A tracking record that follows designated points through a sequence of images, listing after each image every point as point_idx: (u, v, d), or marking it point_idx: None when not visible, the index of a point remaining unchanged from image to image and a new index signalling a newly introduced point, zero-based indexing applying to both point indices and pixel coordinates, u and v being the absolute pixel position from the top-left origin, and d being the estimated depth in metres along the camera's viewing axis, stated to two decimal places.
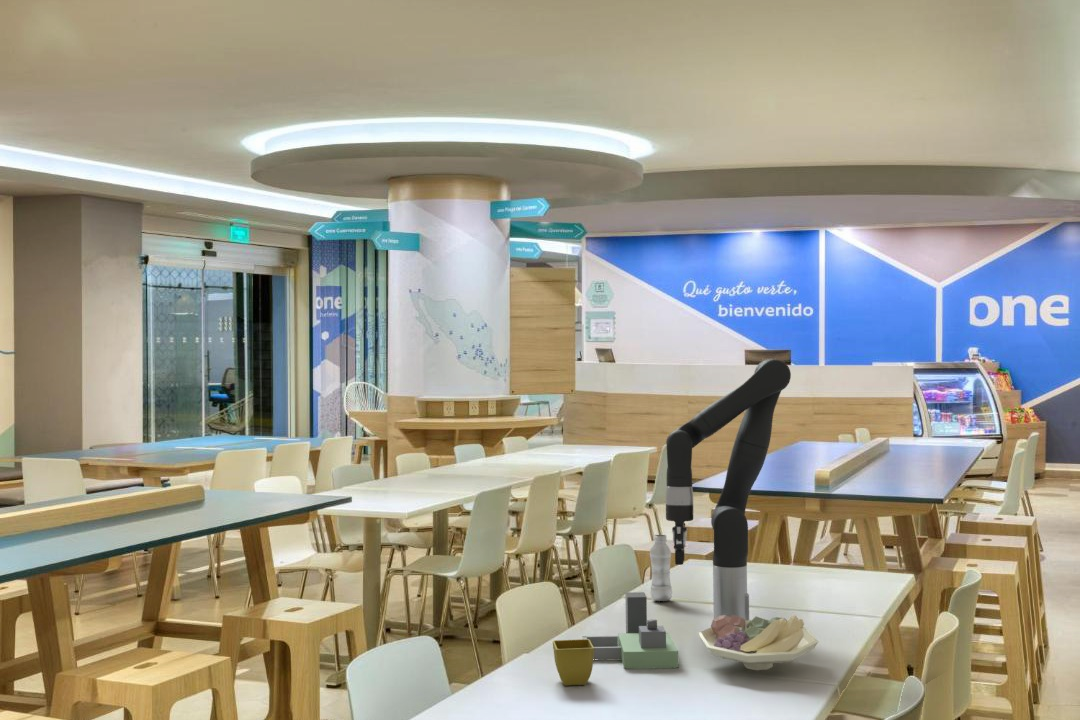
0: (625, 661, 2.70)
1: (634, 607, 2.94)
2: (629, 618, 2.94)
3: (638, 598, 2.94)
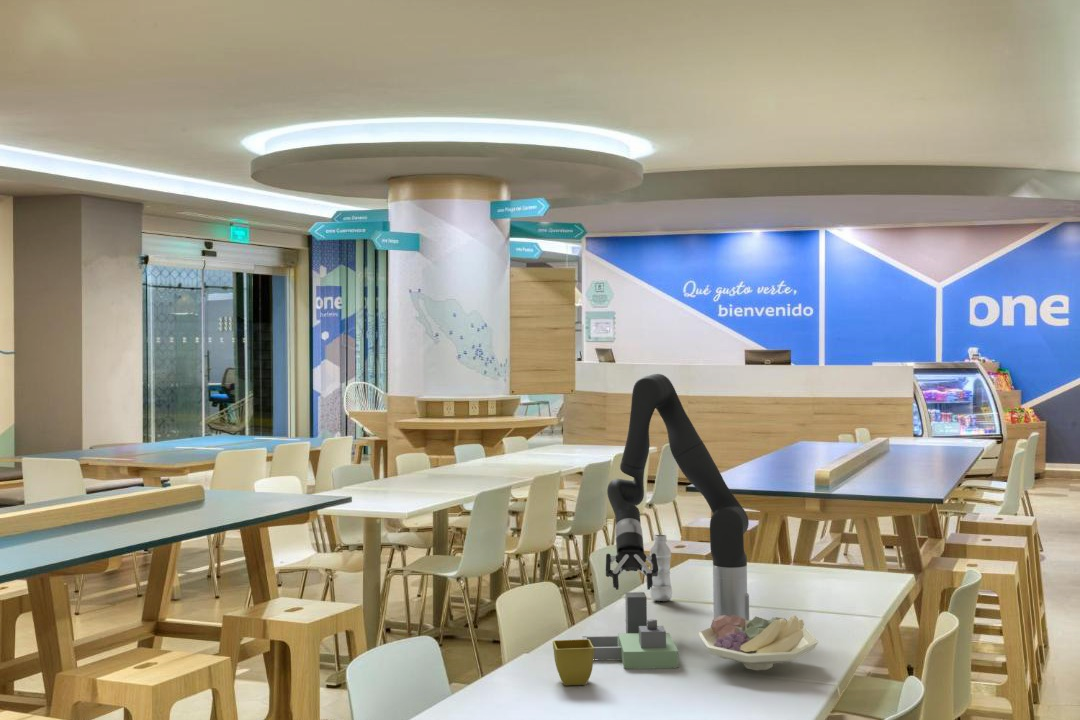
0: (625, 661, 2.70)
1: (634, 607, 2.94)
2: (629, 618, 2.94)
3: (638, 598, 2.94)
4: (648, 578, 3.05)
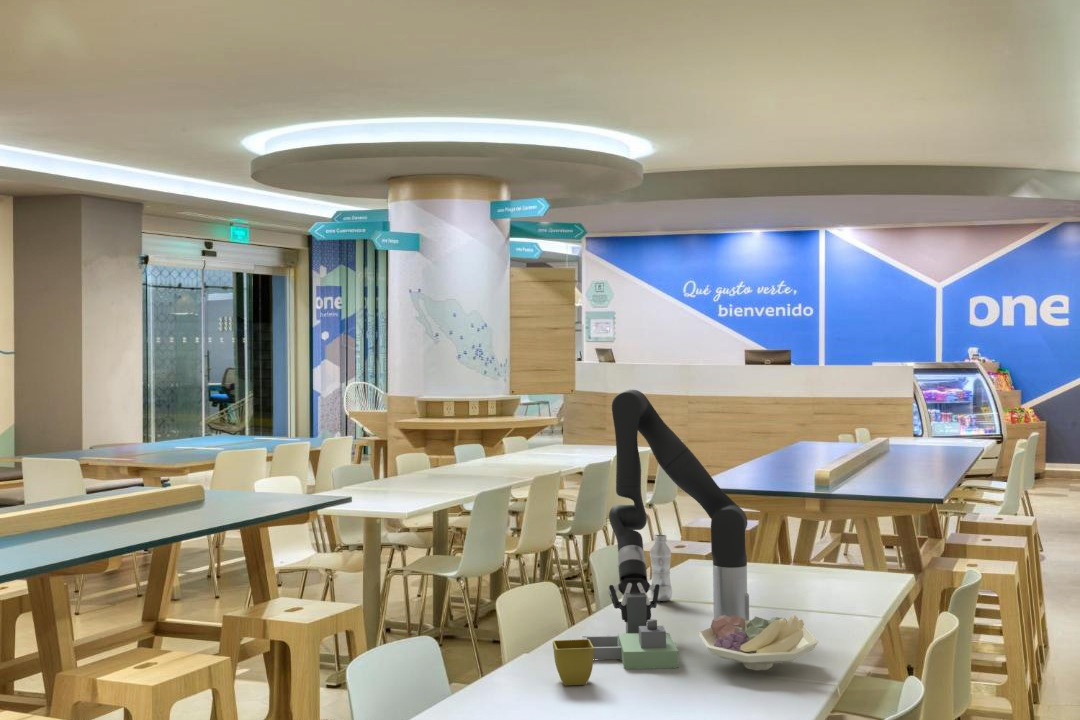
0: (625, 661, 2.70)
1: (634, 607, 2.94)
2: (629, 618, 2.94)
3: (638, 598, 2.94)
4: None
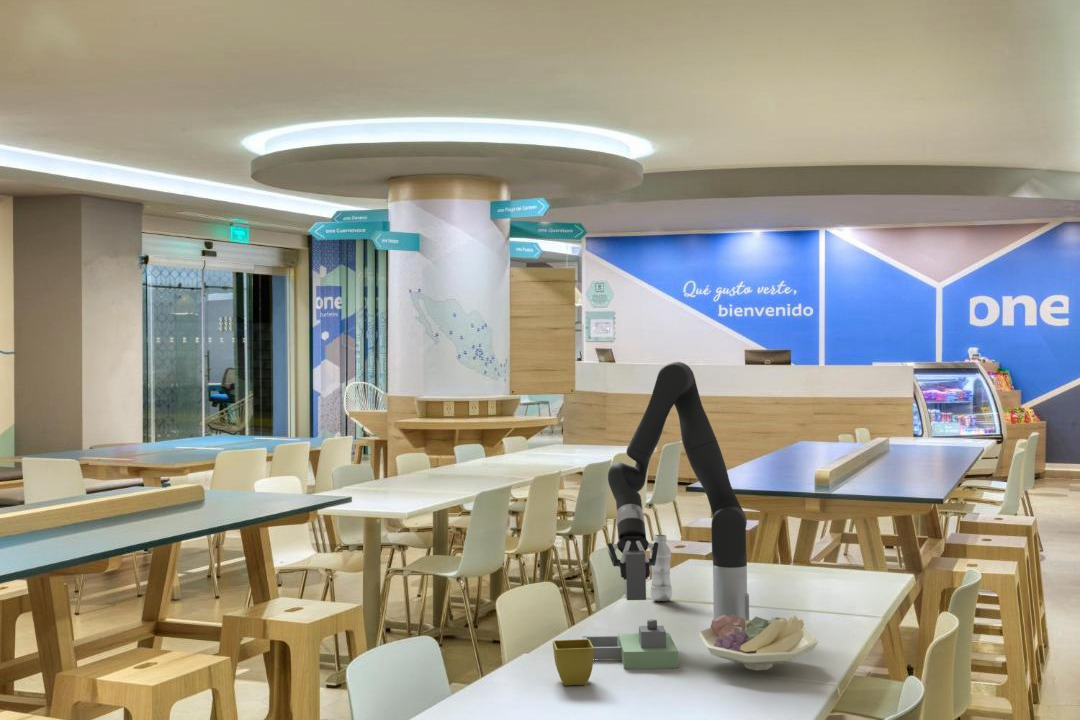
0: (625, 661, 2.70)
1: (633, 564, 2.94)
2: (628, 575, 2.94)
3: (637, 555, 2.94)
4: None
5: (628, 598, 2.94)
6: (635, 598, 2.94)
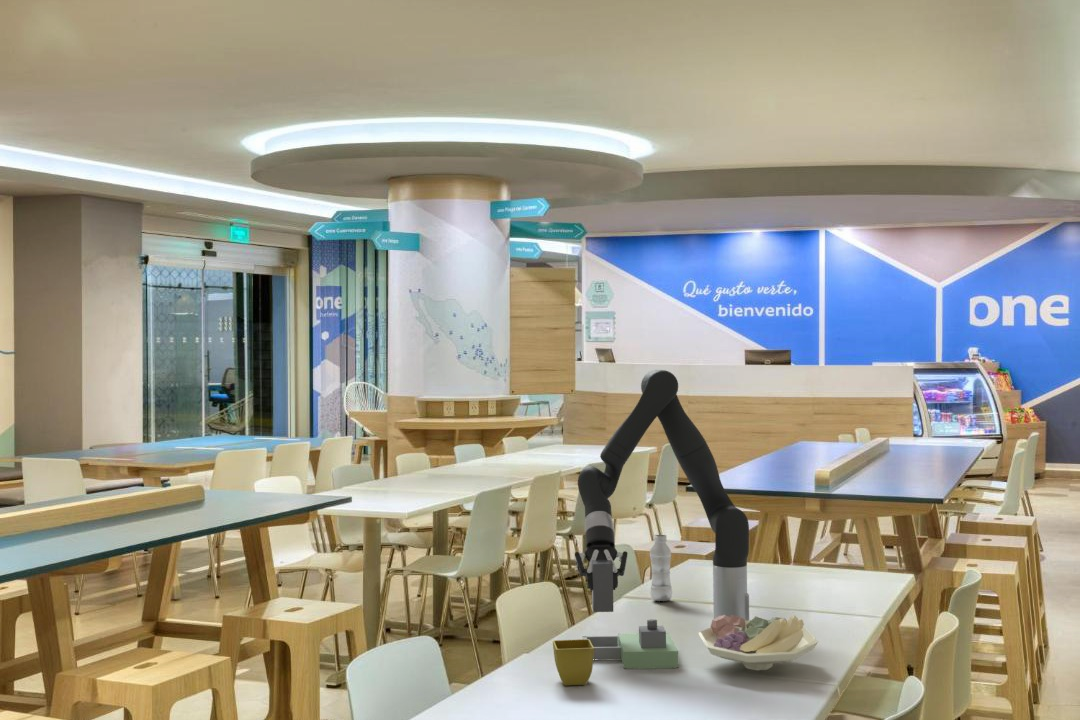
0: (625, 661, 2.70)
1: (600, 574, 2.81)
2: (594, 585, 2.81)
3: (604, 565, 2.81)
4: (613, 578, 2.83)
5: (594, 610, 2.81)
6: (602, 610, 2.81)
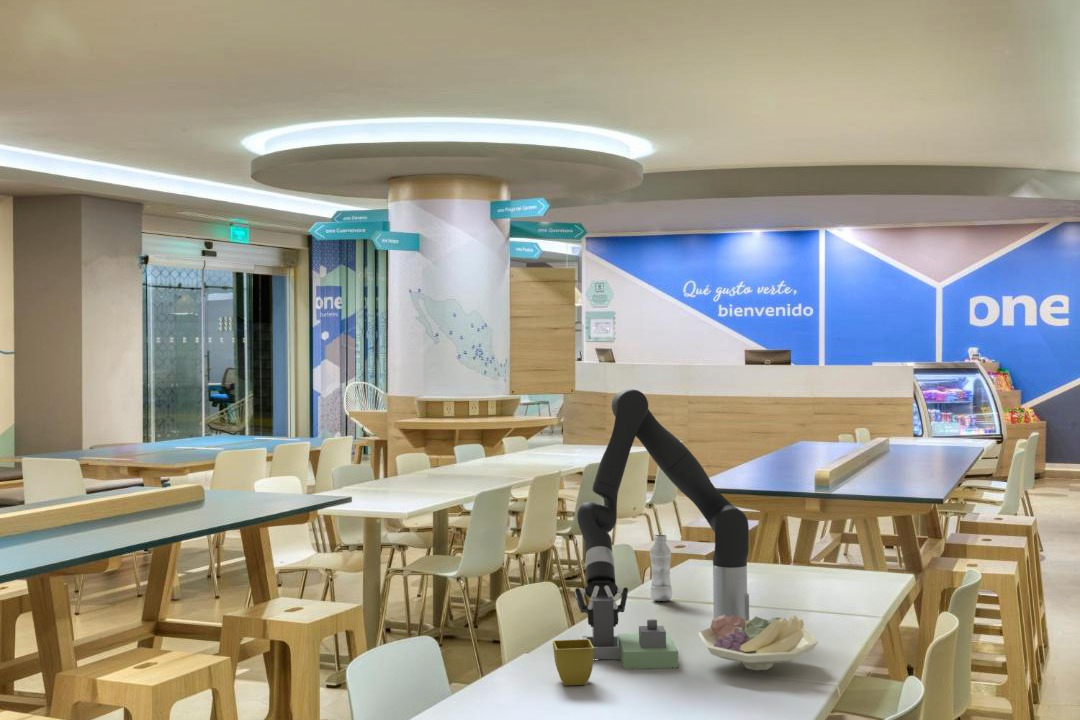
0: (625, 661, 2.70)
1: (601, 611, 2.81)
2: (595, 622, 2.81)
3: (605, 602, 2.81)
4: None
5: None
6: None
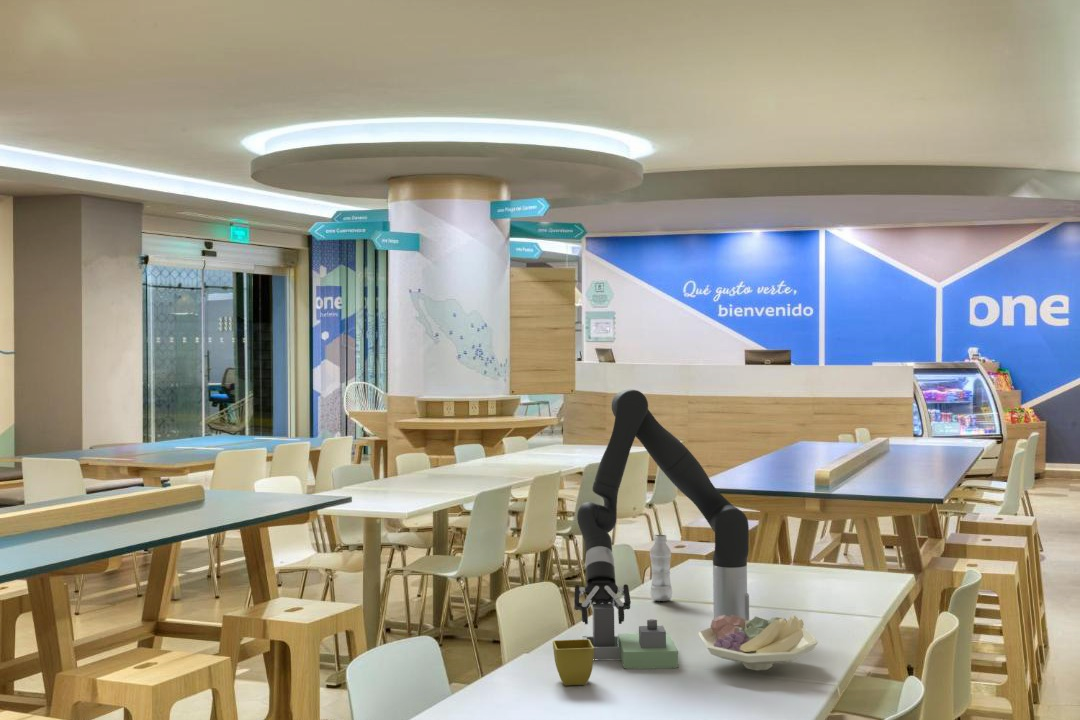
0: (625, 661, 2.70)
1: (601, 619, 2.81)
2: (596, 630, 2.81)
3: (605, 610, 2.81)
4: (619, 611, 2.84)
5: None
6: None
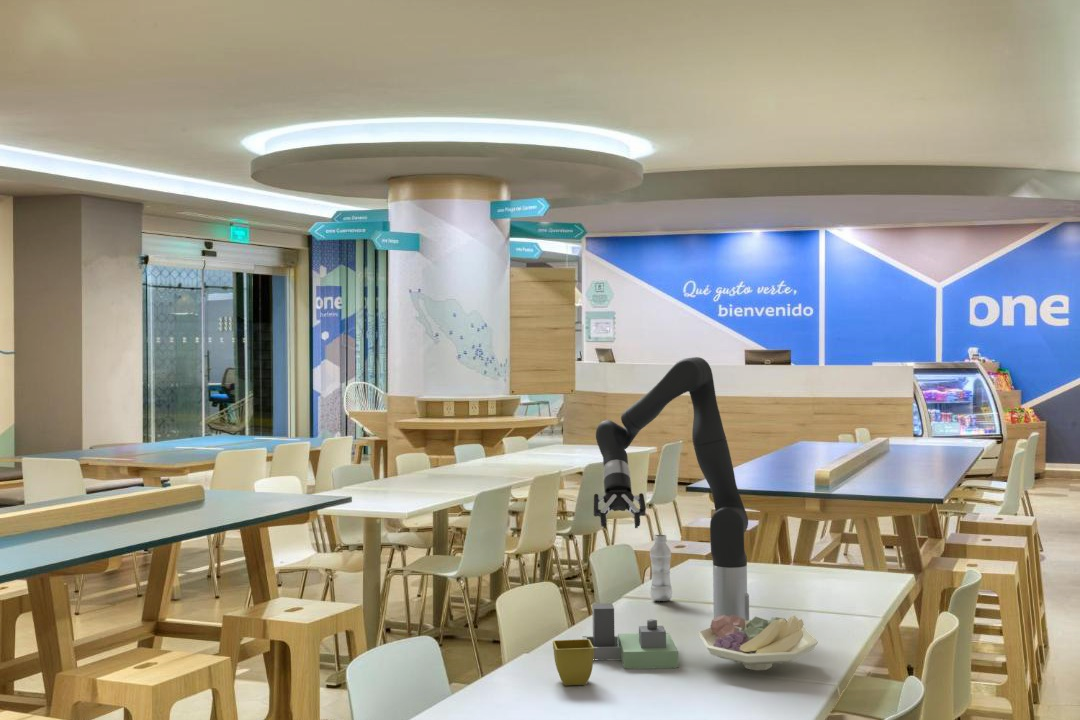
0: (625, 661, 2.70)
1: (601, 619, 2.81)
2: (596, 630, 2.81)
3: (605, 610, 2.81)
4: (636, 517, 3.07)
5: None
6: None
